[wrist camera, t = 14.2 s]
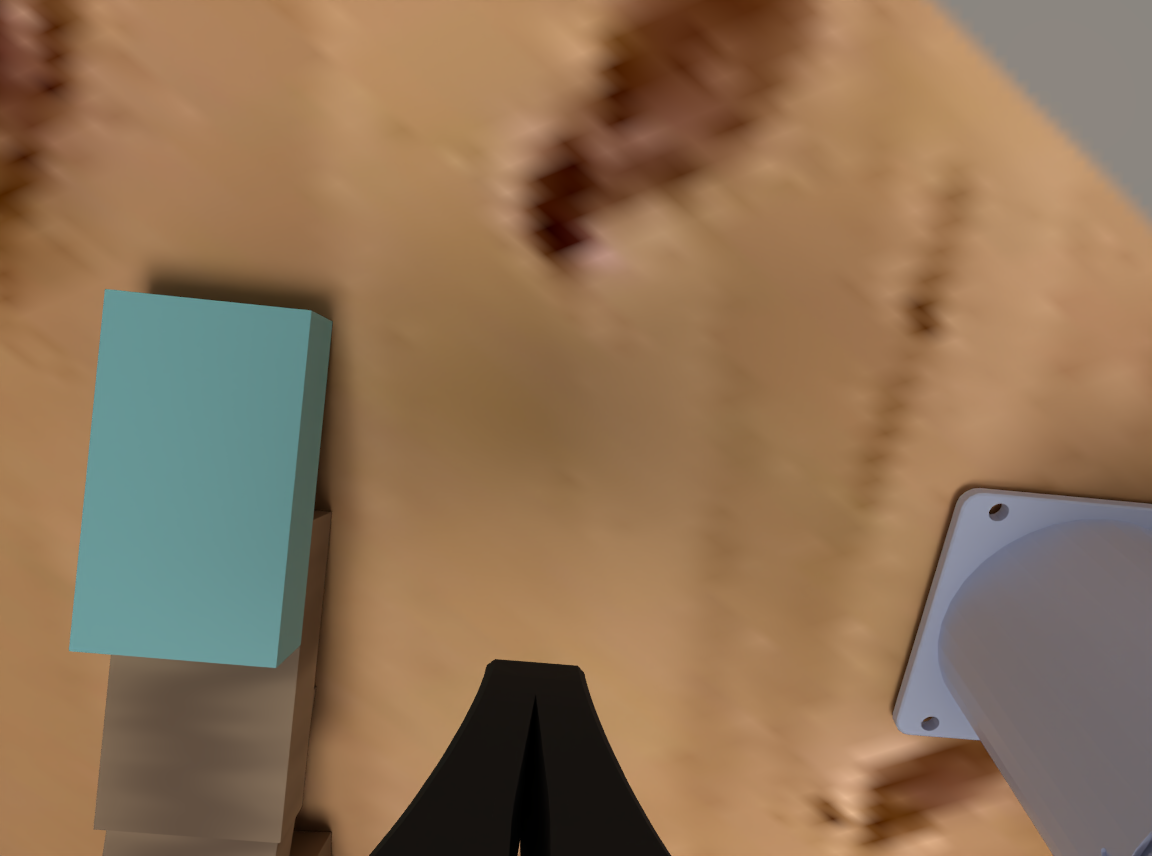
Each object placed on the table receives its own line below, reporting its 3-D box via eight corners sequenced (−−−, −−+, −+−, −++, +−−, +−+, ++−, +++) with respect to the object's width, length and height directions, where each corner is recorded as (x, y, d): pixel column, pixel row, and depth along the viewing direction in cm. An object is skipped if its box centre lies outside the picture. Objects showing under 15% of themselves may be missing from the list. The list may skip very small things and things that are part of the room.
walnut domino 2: (298, 710, 23) (252, 999, 23) (316, 686, 25) (273, 952, 25) (128, 687, 23) (82, 980, 23) (160, 664, 25) (118, 935, 25)
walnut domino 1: (312, 520, 21) (279, 843, 21) (331, 511, 23) (302, 806, 23) (126, 502, 21) (93, 829, 21) (161, 495, 23) (131, 793, 23)
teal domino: (311, 310, 19) (276, 668, 19) (332, 321, 21) (300, 644, 21) (105, 289, 19) (68, 650, 19) (146, 302, 21) (113, 629, 21)
